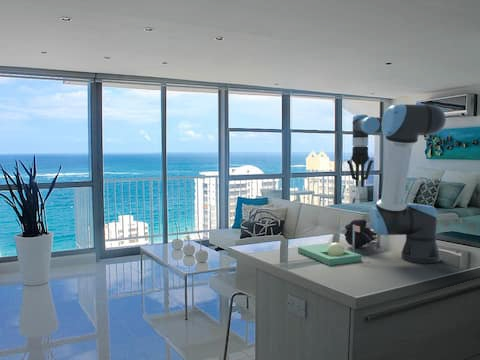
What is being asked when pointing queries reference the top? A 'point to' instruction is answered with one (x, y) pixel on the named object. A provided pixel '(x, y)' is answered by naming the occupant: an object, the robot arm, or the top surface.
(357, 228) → the flagpost
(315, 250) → the green
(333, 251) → the ball
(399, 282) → the top surface
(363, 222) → the figurine
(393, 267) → the top surface
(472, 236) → the top surface
